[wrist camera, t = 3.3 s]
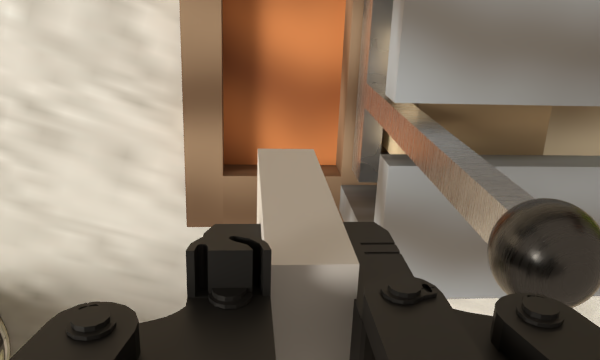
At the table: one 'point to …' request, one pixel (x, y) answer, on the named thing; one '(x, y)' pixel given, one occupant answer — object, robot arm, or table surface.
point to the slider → (475, 186)
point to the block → (488, 127)
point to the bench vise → (400, 89)
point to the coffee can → (4, 343)
